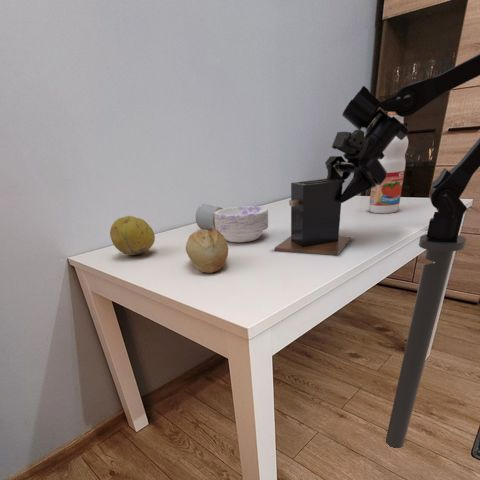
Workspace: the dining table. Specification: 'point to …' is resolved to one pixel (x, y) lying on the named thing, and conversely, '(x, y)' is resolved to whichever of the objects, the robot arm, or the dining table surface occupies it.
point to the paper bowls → (241, 222)
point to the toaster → (315, 211)
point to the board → (315, 247)
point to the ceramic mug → (206, 216)
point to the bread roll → (207, 250)
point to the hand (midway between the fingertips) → (330, 199)
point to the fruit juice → (390, 176)
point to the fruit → (132, 235)
